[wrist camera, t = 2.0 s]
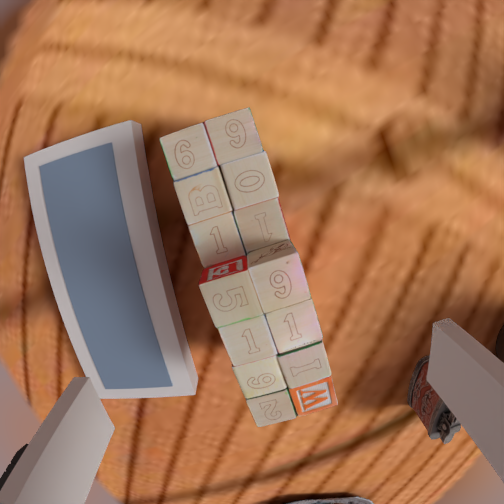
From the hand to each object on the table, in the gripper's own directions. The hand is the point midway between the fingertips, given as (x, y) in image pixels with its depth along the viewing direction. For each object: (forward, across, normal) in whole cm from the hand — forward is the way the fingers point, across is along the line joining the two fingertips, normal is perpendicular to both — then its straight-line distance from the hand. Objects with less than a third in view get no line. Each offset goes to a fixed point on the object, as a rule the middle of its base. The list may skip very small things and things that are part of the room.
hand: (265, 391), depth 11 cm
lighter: (+21, +19, -21) cm, 35 cm away
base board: (+20, -14, 0) cm, 25 cm away
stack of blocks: (+21, 0, 0) cm, 21 cm away
